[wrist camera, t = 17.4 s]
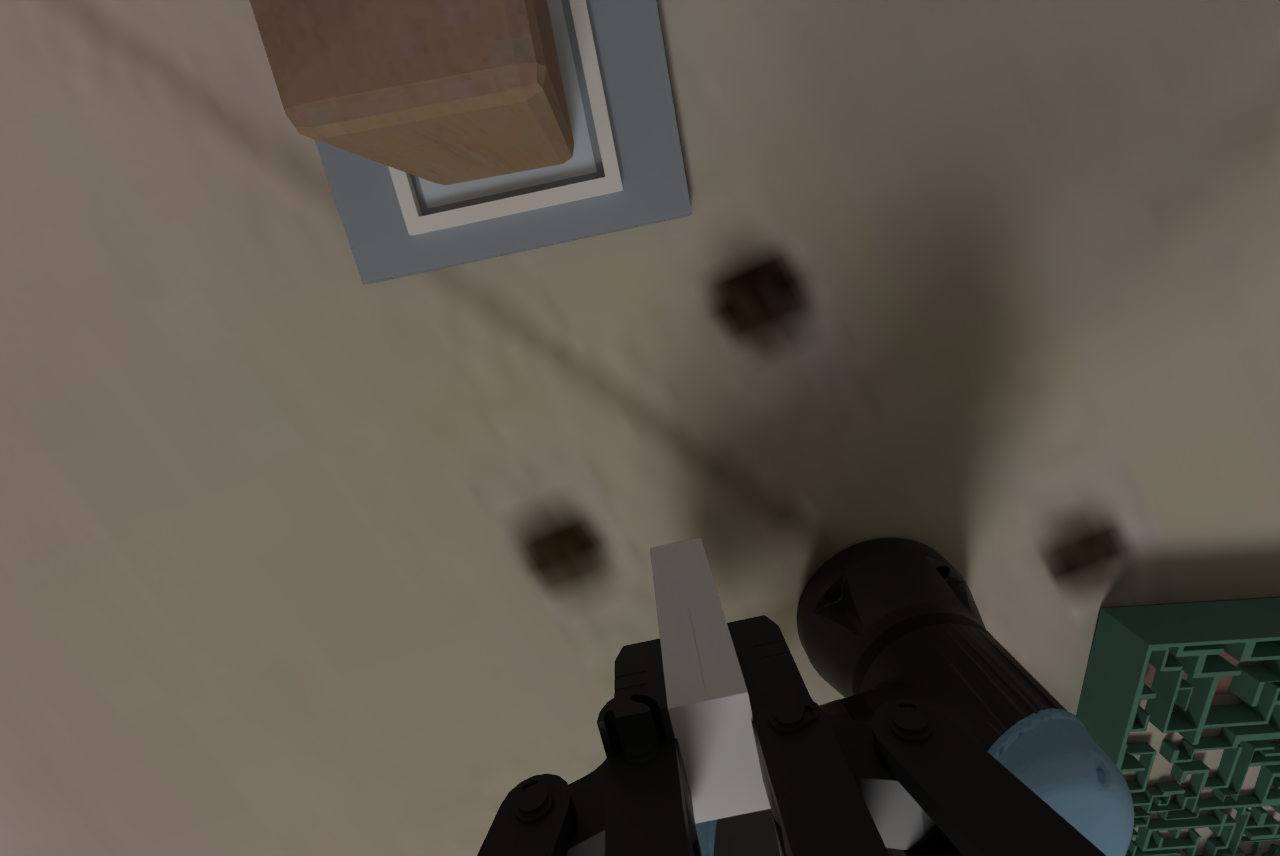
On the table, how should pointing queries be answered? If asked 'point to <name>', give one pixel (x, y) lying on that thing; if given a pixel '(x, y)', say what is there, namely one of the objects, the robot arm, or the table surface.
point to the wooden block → (423, 82)
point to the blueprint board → (545, 197)
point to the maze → (1191, 716)
